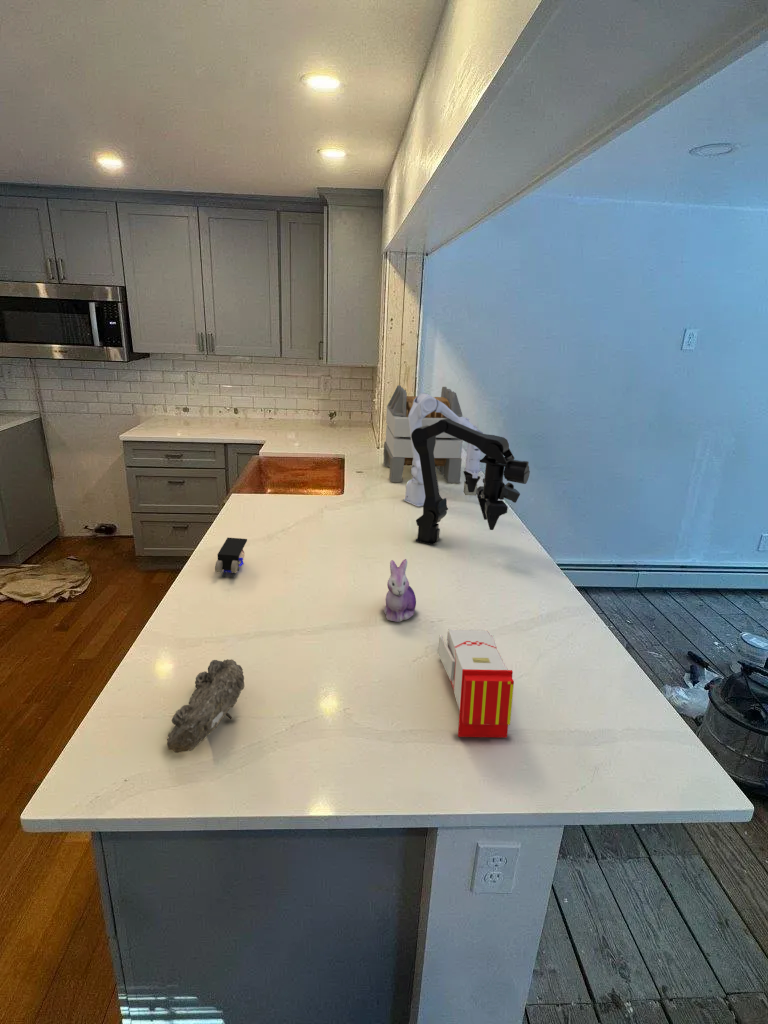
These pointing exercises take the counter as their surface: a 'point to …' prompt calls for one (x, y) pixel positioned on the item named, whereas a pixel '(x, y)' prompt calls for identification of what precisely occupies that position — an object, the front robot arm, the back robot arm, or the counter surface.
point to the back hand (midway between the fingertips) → (470, 490)
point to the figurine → (399, 594)
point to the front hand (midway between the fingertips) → (488, 524)
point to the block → (467, 489)
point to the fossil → (206, 705)
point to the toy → (478, 682)
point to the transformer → (400, 439)
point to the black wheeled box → (230, 556)
